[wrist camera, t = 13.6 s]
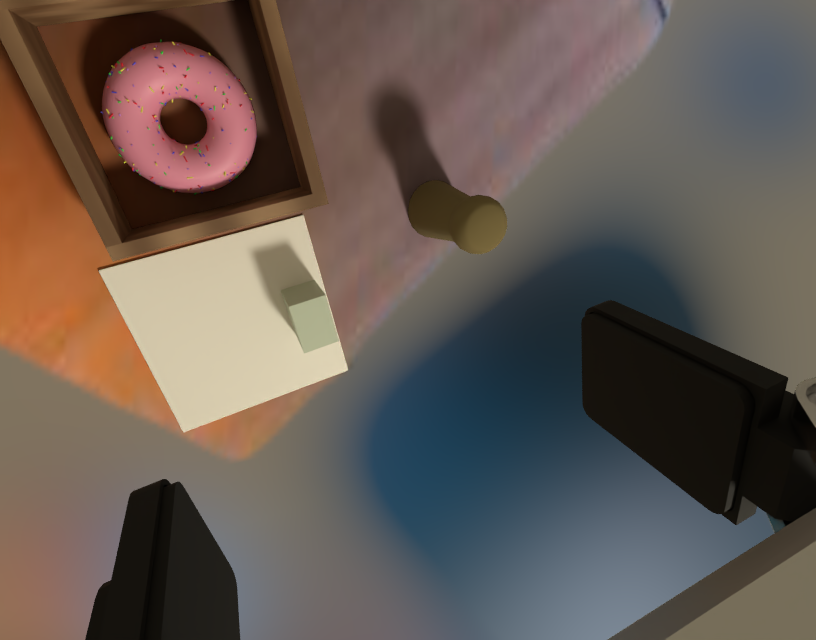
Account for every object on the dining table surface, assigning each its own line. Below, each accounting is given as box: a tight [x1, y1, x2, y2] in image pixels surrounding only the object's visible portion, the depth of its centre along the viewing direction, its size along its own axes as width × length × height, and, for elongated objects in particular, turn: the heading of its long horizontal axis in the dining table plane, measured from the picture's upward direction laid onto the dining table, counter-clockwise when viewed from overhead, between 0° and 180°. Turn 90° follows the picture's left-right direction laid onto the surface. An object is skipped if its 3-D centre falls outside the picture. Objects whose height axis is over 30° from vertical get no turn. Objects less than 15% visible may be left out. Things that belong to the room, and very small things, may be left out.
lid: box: [99, 215, 348, 432], centre depth 43 cm, size 18×18×6 cm
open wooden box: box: [0, 0, 329, 261], centre depth 35 cm, size 17×17×6 cm
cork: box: [408, 180, 507, 254], centre depth 44 cm, size 6×6×11 cm
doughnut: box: [101, 39, 257, 195], centre depth 36 cm, size 11×11×4 cm
